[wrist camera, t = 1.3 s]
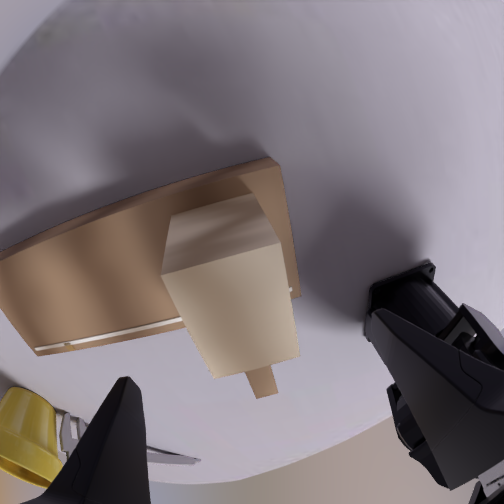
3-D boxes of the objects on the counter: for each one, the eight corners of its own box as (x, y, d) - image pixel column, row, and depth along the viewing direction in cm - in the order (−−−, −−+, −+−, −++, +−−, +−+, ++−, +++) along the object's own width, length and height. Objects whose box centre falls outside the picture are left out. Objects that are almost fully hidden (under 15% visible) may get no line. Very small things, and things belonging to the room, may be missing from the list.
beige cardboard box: (253, 192, 14) (280, 242, 9) (282, 325, 18) (305, 388, 14) (171, 215, 13) (160, 275, 9) (221, 341, 18) (231, 407, 14)
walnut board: (270, 157, 15) (280, 165, 13) (292, 277, 19) (301, 296, 17) (-9, 256, 14) (-23, 272, 12) (44, 338, 18) (37, 357, 16)
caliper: (63, 411, 24) (55, 457, 19) (66, 409, 24) (57, 455, 19) (196, 459, 34) (200, 496, 28) (201, 457, 33) (205, 495, 28)
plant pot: (21, 368, 20) (-5, 450, 11) (87, 421, 25) (79, 494, 17) (-16, 380, 20) (-38, 444, 12) (40, 426, 25) (30, 485, 17)
